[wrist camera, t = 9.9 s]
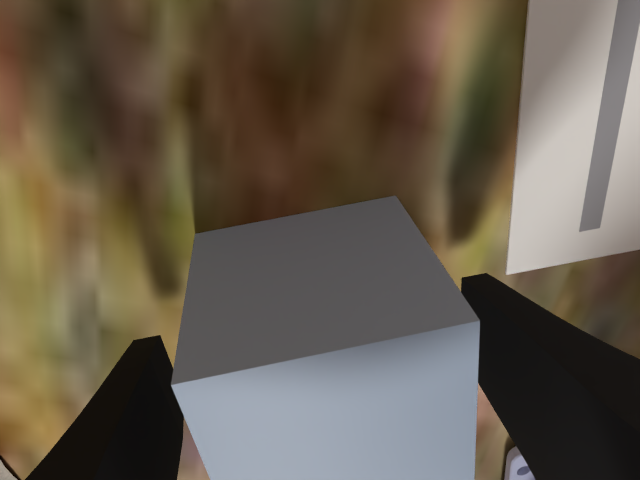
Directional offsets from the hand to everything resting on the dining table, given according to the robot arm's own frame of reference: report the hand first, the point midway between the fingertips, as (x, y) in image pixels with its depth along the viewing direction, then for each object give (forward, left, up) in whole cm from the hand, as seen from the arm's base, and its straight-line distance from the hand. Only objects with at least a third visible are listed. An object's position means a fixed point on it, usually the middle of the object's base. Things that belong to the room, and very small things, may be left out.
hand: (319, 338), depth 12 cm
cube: (0, 0, -2) cm, 2 cm away
